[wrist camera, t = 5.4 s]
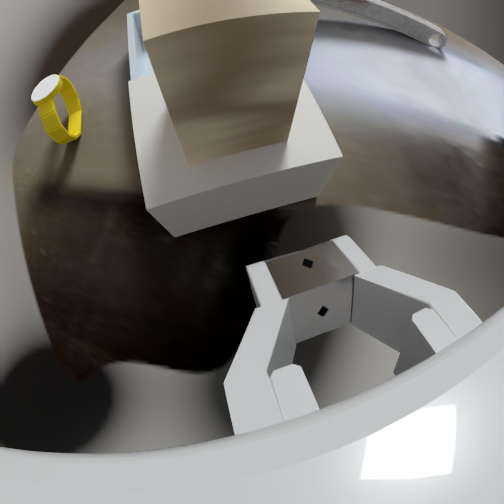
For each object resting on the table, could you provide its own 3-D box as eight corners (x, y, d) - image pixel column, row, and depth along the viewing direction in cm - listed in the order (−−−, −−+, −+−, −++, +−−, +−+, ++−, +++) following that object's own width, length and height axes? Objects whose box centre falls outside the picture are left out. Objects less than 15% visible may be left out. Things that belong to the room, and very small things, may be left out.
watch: (66, 110, 21) (38, 71, 16) (90, 99, 22) (65, 57, 16) (61, 158, 20) (23, 120, 14) (87, 146, 20) (53, 103, 14)
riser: (274, 97, 21) (282, 44, 15) (316, 196, 20) (342, 156, 14) (152, 129, 20) (128, 81, 15) (174, 237, 19) (146, 209, 13)
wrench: (430, 63, 27) (194, 12, 23) (425, 54, 27) (196, 4, 23) (461, 28, 19) (196, -46, 15) (455, 20, 20) (199, -51, 15)
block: (257, 74, 15) (264, -43, 7) (287, 141, 14) (319, 11, 6) (172, 94, 14) (137, -20, 7) (189, 166, 14) (143, 41, 6)
